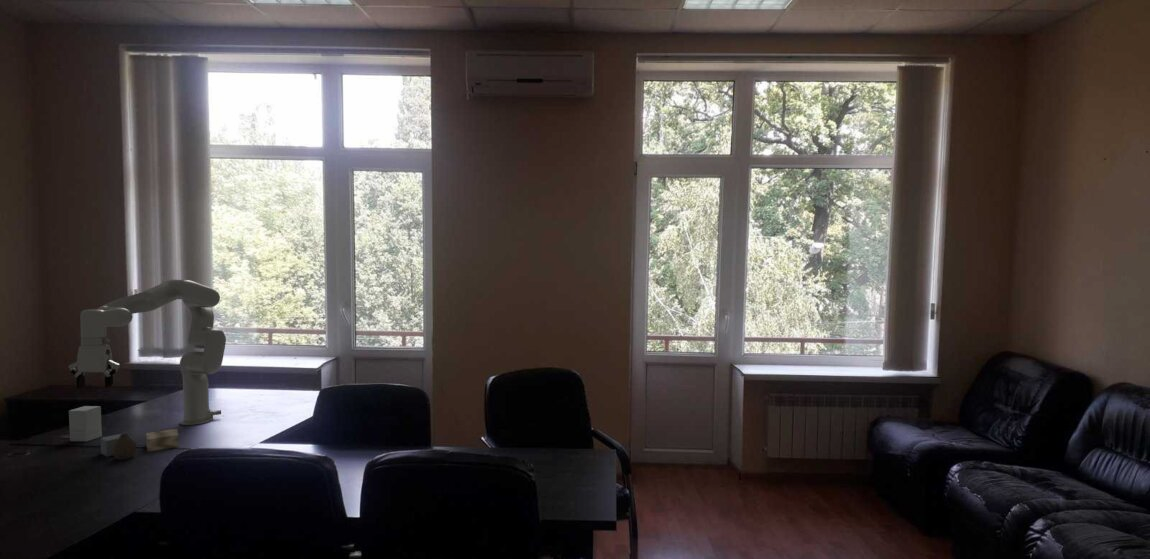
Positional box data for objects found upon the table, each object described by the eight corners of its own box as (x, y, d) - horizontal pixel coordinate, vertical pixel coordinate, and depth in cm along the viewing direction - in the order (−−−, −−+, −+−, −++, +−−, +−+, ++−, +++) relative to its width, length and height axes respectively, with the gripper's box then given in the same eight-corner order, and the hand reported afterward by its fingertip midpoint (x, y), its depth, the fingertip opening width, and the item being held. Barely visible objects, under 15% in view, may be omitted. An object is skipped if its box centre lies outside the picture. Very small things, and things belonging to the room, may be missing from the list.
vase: (141, 456, 215) (140, 433, 215) (121, 462, 209) (120, 438, 208) (128, 454, 218) (127, 431, 217) (108, 460, 211) (107, 436, 211)
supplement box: (102, 436, 238) (101, 406, 238) (85, 442, 231) (84, 410, 230) (86, 435, 239) (85, 405, 239) (69, 441, 232) (67, 410, 231)
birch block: (177, 440, 234) (176, 428, 234) (178, 447, 226) (178, 434, 226) (146, 445, 228) (146, 433, 228) (147, 452, 220) (146, 439, 220)
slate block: (120, 449, 223) (119, 433, 223) (126, 452, 220) (125, 436, 219) (101, 453, 218) (100, 437, 218) (106, 456, 215) (106, 441, 214)
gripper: (125, 340, 223) (126, 384, 224) (76, 340, 221) (77, 385, 222) (112, 343, 216) (113, 388, 216) (61, 343, 214) (62, 389, 214)
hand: (94, 386), depth 219 cm, fingers open, 9 cm apart
